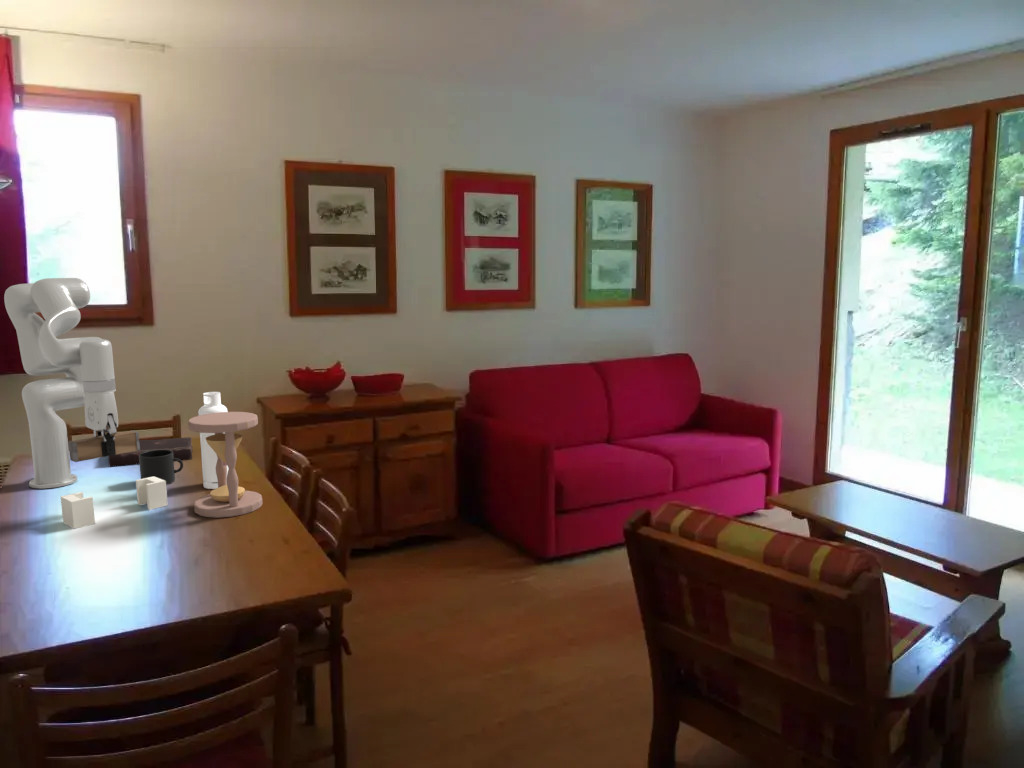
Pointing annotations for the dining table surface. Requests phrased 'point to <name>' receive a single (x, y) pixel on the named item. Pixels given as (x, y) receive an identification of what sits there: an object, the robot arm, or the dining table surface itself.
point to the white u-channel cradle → (82, 510)
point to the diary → (177, 445)
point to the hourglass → (225, 464)
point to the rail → (93, 448)
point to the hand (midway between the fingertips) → (105, 453)
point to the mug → (159, 465)
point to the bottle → (206, 451)
